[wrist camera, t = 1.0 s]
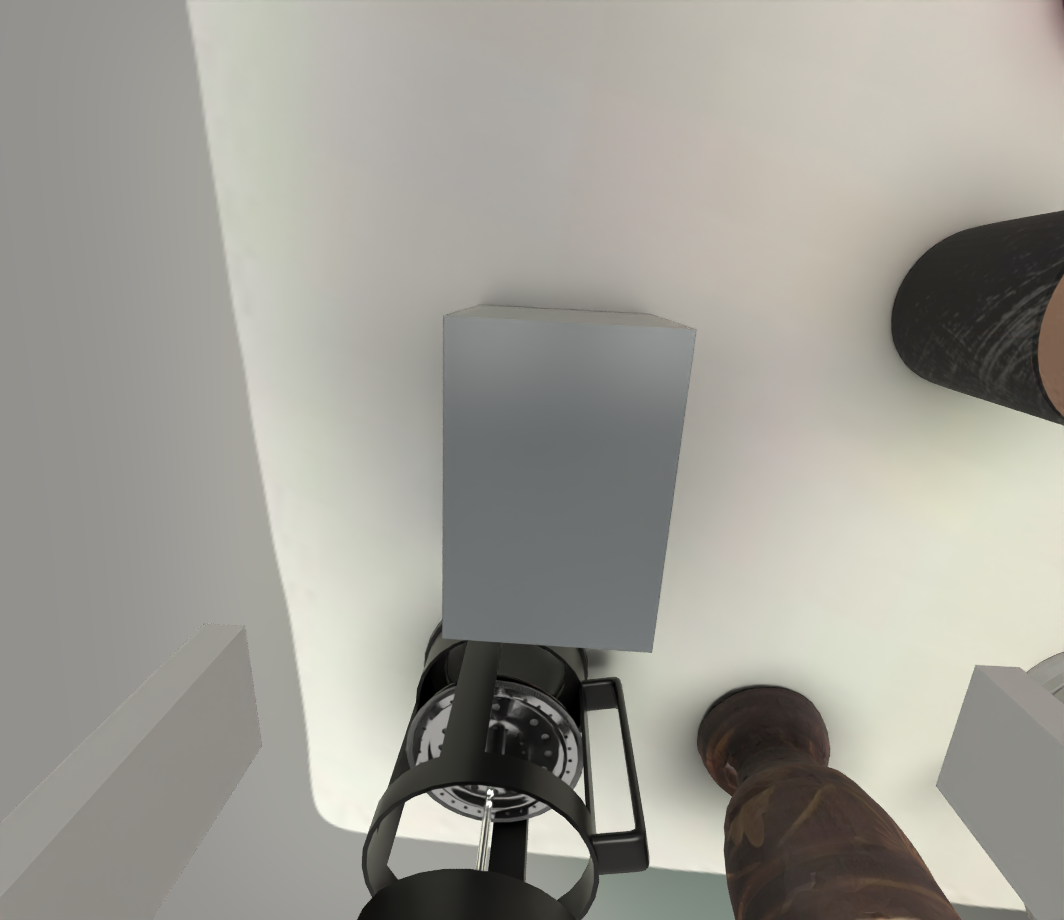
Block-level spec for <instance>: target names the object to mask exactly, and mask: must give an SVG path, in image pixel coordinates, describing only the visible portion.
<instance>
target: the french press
mask: <svg viewBox="0 0 1064 920" xmlns="http://www.w3.org/2000/svg"><path fill="white" fill-rule="evenodd" d="M466 642H467V646H466V650H465V654H464V658H463V662H462V666H461V670H460V674H459V679H458V681H456V682H454V683H452V684H450V681H449V679H448V676H447V668H446V664H447V657H448V654H449V651H450V650H451V649H453V648H454V647H456V646H459V645H461V644H464V643H466ZM501 644H502V642H488V641H473V640H458V639H444V638H442V621H441V622H440V623H439V624H438V626H437V627H436V629H435V631H434V632H433V634H432V635H431V637H430V640H429V643H428V646H427V649H426V652H425V661H424V670H423V673H422V676H421V679H420V682H419V685H418V688H417V696H416V704H415V707H414V710H413V713H412V716H411V719H410V722H409V725H408V728H407V731H406V734H405V737H404V740H403V743H402V746H401V749H400V752H399V755H398V758H397V761H396V764H395V767H394V770H393V773H392V776H391V779H390V782H389V785H388V788H387V790H386V792H385V793H384V795H383V796H382V798H381V799H380V801H379V803H378V806H377V809H376V811H375V814H374V817H373V820H372V823H371V826H370V829H369V832H368V835H367V838H366V841H365V844H364V847H363V855H362V870H363V874H364V879H365V883H366V885H367V888H368V890H369V892H370V894H371V896H372V899H371V900H370V901H369V902H368V903H367V904H366V905H365V906H364V908H363V909H362V911H361V913H360V915H359V917H358V919H357V920H581V919H582V918H583V917H584V916H585V915H586V914H587V912H588V910H589V909H590V906H591V905H592V903H593V901H594V899H595V896H596V892H597V888H598V884H599V875H603V874H616V873H629V872H639V871H643V870H646V869H647V868H648V866H649V851H648V843H647V836H646V828H645V822H644V816H643V810H642V804H641V798H640V792H639V786H638V780H637V774H636V767H635V761H634V755H633V749H632V743H631V737H630V731H629V725H628V719H627V713H626V707H625V701H624V695H623V689H622V684H621V682H620V679H619V678H617V677H608V678H599V679H590V680H587V677H588V666H587V657H586V653H585V649H584V648H575V647H561V646H546V645H537V646H539V647H541V648H543V649H545V650H547V651H549V652H550V653H551V654H553V655H554V656H555V657H557V658H558V659H559V660H560V661H562V662H563V663H564V665H565V679H564V683H563V686H562V688H561V690H560V692H559V693H558V695H557V696H556V698H555V697H553V696H552V695H551V694H549V693H548V692H547V691H545V690H543V689H541V688H540V687H538V686H536V685H534V684H532V683H529V682H526V681H524V680H521V679H518V678H514V677H509V676H504V675H497V671H498V664H499V658H500V651H501ZM611 708H616V709H618V712H619V719H620V726H621V733H622V740H623V746H624V753H625V760H626V767H627V774H628V781H629V787H630V794H631V801H632V808H633V815H634V821H635V829H634V830H632V831H624V832H613V833H601V834H596V826H595V812H594V799H593V785H592V772H591V758H590V745H589V731H588V718H587V711H591V710H601V709H611ZM580 733H582V738H581V735H580ZM583 767H584V784H585V802H586V806H585V804H584V803H583V801H582V799H581V798H580V797H579V796H578V795H577V794H576V793H575V792H574V790H573V789H574V788H575V786H576V784H577V782H578V780H579V778H580V776H581V774H582V769H583ZM423 793H427V794H428V795H429V796H430V797H431V798H432V799H434V800H435V801H436V802H438V803H439V804H441V805H442V806H444V807H445V808H447V809H449V810H451V811H453V812H455V813H457V814H460V815H462V816H465V817H469V818H472V819H476V820H481V821H482V826H481V833H480V841H479V849H478V856H477V863H476V870H474V869H441V870H434V871H428V872H422V873H418V874H415V875H412V876H409V877H405V878H403V879H399V880H398V879H397V878H396V877H395V875H394V874H393V873H392V871H391V870H390V869H389V867H388V866H387V863H388V859H389V856H390V852H391V849H392V845H393V842H394V838H395V835H396V831H397V828H398V825H399V821H400V818H401V814H402V811H403V807H404V804H405V802H406V801H408V800H410V799H411V798H413V797H415V796H418V795H421V794H423ZM550 809H553V810H555V811H556V812H557V813H559V814H560V815H562V816H563V817H564V818H565V819H566V820H567V821H568V822H569V823H570V824H571V825H572V826H573V827H574V828H575V829H576V830H577V831H578V832H579V834H580V835H581V837H582V839H583V840H584V842H585V844H586V845H587V847H588V849H589V852H590V859H589V863H588V865H587V867H586V869H585V871H584V873H583V875H582V877H581V879H580V880H579V881H578V882H577V883H576V884H575V885H574V887H573V888H572V889H571V890H570V891H569V892H568V893H566V894H565V895H563V896H562V897H561V898H559V899H558V900H556V899H554V898H553V897H551V896H550V895H548V894H547V893H545V892H544V891H542V890H541V889H539V888H536V887H534V886H532V885H530V884H528V883H526V882H525V880H526V859H527V840H528V820H529V818H532V817H535V816H538V815H541V814H543V813H545V812H547V811H548V810H550ZM491 822H494V824H493V833H492V842H491V851H490V860H489V868H488V871H485V865H486V856H487V848H488V840H489V831H490V823H491Z"/></svg>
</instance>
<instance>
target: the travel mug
mask: <svg viewBox="0 0 1064 920" xmlns="http://www.w3.org/2000/svg"><path fill="white" fill-rule="evenodd" d="M892 332H893V338H894V342H895V345H896V348H897V350H898V352H899V354H900V356H901V358H902V359H903V360H904V362H905V363H906V364H907V365H908V366H909V367H910V368H911V369H912V370H913V371H914V372H915V373H916V374H918V375H919V376H920V377H922V378H924V379H926V380H928V381H930V382H932V383H935V384H938V385H941V386H944V387H947V388H950V389H953V390H955V391H958V392H961V393H965V394H968V395H971V396H974V397H977V398H980V399H983V400H986V401H989V402H993V403H996V404H999V405H1002V406H1005V407H1008V408H1011V409H1014V410H1017V411H1021V412H1024V413H1027V414H1030V415H1033V416H1036V417H1039V418H1042V419H1045V420H1049V421H1052V422H1055V423H1058V424H1061V425H1064V211H1058V212H1052V213H1047V214H1041V215H1036V216H1030V217H1024V218H1019V219H1013V220H1008V221H1003V222H997V223H992V224H987V225H983V226H978V227H974V228H970V229H967V230H964V231H961V232H959V233H956V234H954V235H952V236H950V237H948V238H946V239H945V240H943V241H942V242H940V243H938V244H937V245H935V246H934V247H933V248H932V249H930V250H929V251H928V252H927V253H926V254H925V255H924V256H922V257H921V258H920V259H919V260H918V262H917V263H916V264H915V265H914V266H913V268H912V269H911V270H910V272H909V273H908V275H907V276H906V278H905V279H904V281H903V283H902V285H901V287H900V289H899V292H898V294H897V297H896V300H895V304H894V308H893V316H892Z"/></svg>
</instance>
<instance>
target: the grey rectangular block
mask: <svg viewBox="0 0 1064 920" xmlns="http://www.w3.org/2000/svg"><path fill="white" fill-rule="evenodd" d="M695 336H696V329H693V328H690V327H687V326H684V325H681V324H678V323H675V322H672V321H669V320H666V319H663V318H660V317H657V316H654V315H651V314H640V313H622V312H603V311H585V310H567V309H549V308H531V307H512V306H494V305H477V306H474V307H470V308H467V309H464V310H460V311H457V312H454V313H451V314H447V315H444V316H443V604H442V638H444V639H458V640H473V641H488V642H502V643H517V644H531V645H546V646H561V647H575V648H590V649H605V650H619V651H634V652H649V653H652V649H653V641H654V634H655V627H656V620H657V612H658V605H659V598H660V591H661V583H662V576H663V569H664V561H665V554H666V547H667V540H668V532H669V525H670V518H671V511H672V503H673V496H674V489H675V482H676V474H677V467H678V460H679V452H680V445H681V438H682V431H683V423H684V416H685V409H686V402H687V394H688V387H689V380H690V373H691V365H692V358H693V351H694V343H695Z"/></svg>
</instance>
